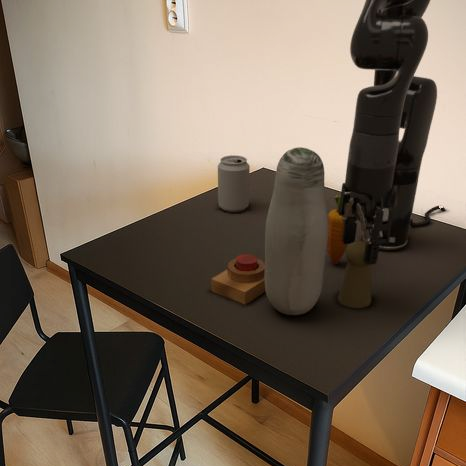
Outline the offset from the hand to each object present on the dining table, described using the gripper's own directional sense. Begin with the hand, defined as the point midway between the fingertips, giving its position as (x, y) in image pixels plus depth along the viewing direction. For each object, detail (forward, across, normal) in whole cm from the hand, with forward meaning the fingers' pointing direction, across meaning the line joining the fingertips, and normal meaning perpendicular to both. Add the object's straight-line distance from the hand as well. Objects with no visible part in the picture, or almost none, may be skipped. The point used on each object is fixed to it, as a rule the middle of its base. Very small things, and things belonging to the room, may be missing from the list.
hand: (358, 252), depth 102 cm
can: (+9, +49, +9) cm, 50 cm away
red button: (+6, +10, +17) cm, 21 cm away
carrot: (+10, +14, -3) cm, 17 cm away
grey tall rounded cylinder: (+10, 0, +12) cm, 15 cm away
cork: (+10, 0, 0) cm, 10 cm away
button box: (+10, +10, +17) cm, 22 cm away
